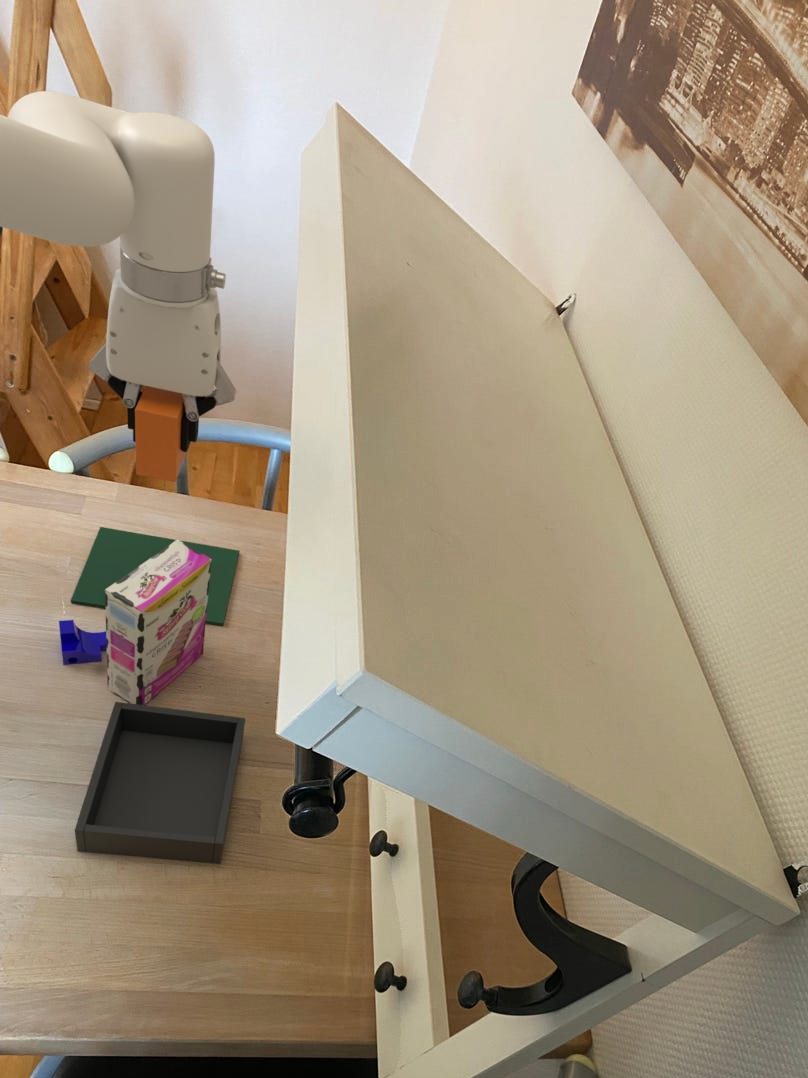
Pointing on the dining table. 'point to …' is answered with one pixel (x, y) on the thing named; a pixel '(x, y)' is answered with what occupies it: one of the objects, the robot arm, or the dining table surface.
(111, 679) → the candy bar box
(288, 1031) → the dining table surface
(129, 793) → the bin
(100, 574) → the mat
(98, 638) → the cable holder
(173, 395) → the orange block
